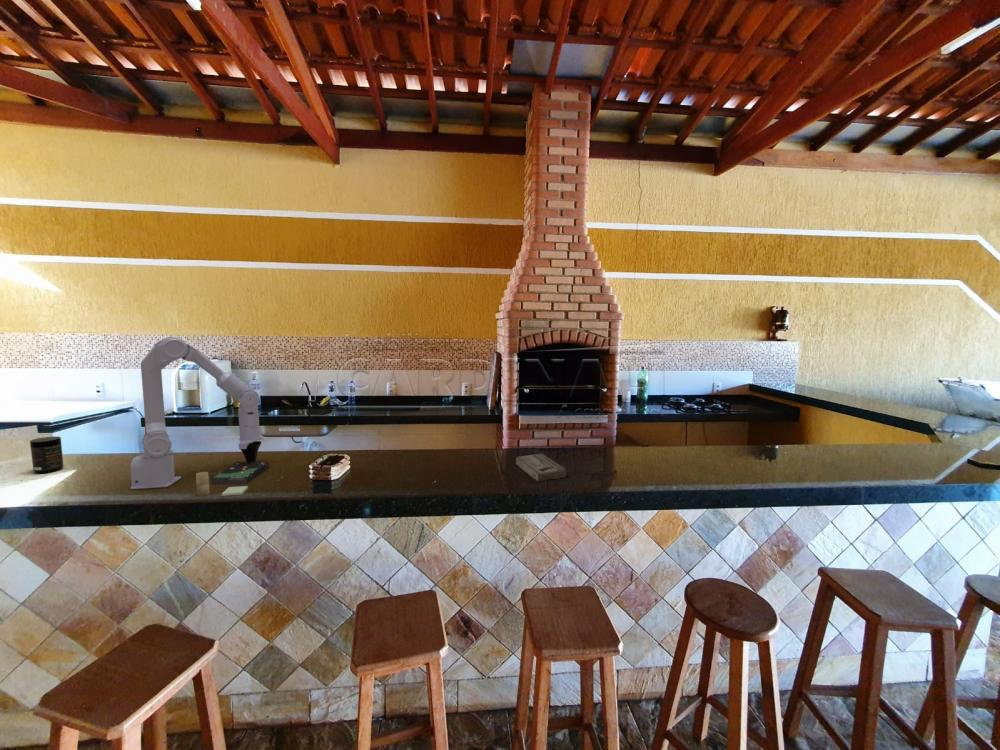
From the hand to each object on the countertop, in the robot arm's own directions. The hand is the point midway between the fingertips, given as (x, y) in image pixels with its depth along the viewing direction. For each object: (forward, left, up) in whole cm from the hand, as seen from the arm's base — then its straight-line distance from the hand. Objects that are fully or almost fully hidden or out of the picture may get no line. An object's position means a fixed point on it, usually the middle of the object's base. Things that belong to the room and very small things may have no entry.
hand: (251, 464), depth 140 cm
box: (+95, -22, -2) cm, 98 cm away
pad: (+3, -23, -1) cm, 23 cm away
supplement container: (-61, +7, -1) cm, 61 cm away
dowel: (-5, -23, -1) cm, 23 cm away
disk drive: (0, -8, -2) cm, 9 cm away
